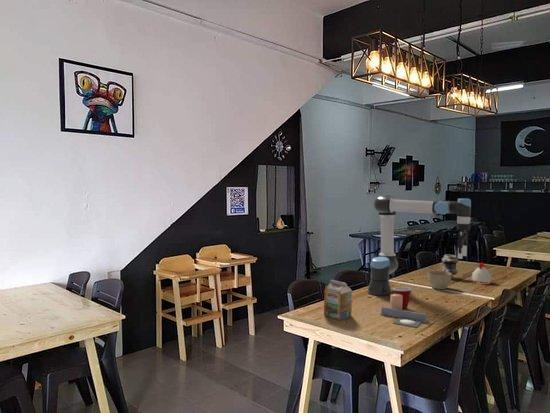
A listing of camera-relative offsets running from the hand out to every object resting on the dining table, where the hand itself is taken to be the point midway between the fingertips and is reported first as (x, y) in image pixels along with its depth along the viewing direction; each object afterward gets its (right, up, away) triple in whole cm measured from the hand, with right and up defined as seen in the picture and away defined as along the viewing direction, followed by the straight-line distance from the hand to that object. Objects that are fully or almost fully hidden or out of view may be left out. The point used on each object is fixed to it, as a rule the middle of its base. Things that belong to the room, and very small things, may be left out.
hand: (462, 257), depth 266 cm
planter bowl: (-1, -26, +34) cm, 43 cm away
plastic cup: (-43, -28, -18) cm, 54 cm away
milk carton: (-83, -28, -34) cm, 94 cm away
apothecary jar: (+19, -25, +67) cm, 74 cm away
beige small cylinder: (-49, -28, -27) cm, 63 cm away
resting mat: (-48, -29, -44) cm, 71 cm away
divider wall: (-48, -29, -36) cm, 66 cm away
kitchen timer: (+38, -26, +54) cm, 71 cm away
